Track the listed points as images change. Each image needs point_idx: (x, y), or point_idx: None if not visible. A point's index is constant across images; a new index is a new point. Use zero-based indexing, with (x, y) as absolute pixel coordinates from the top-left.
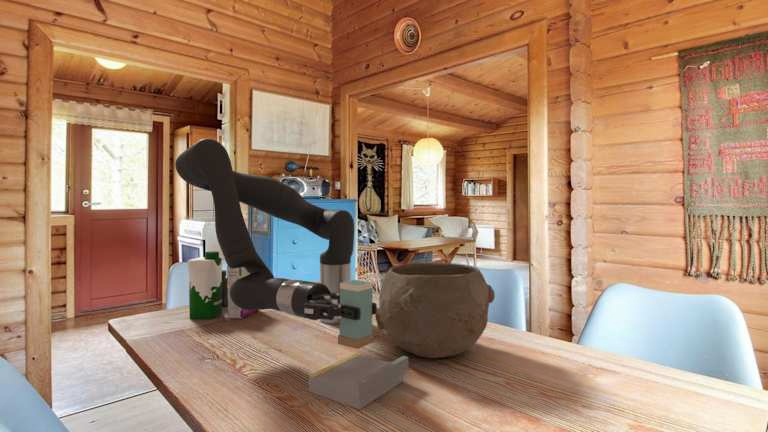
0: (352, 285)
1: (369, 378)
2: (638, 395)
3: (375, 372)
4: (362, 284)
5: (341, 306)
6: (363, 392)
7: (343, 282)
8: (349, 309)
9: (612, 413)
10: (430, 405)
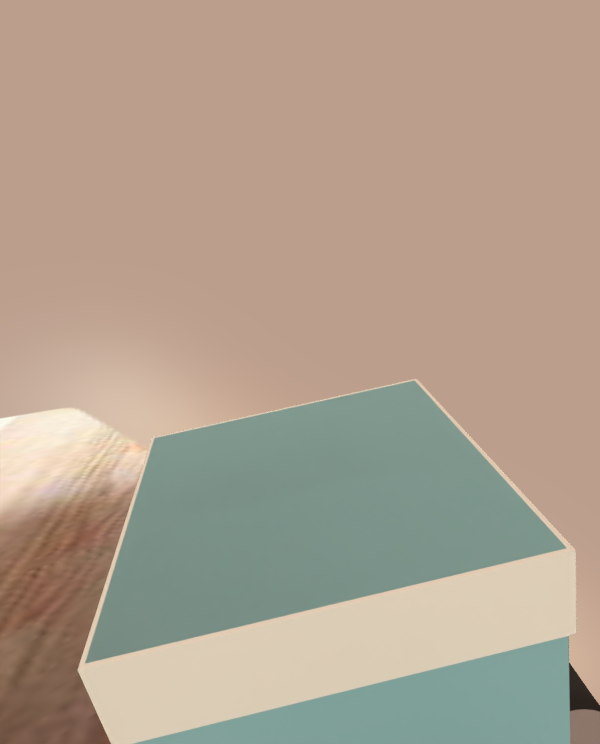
0: (445, 416)
1: None
2: (19, 474)
3: None
4: (323, 407)
5: (583, 720)
6: None
7: (467, 568)
8: None
9: (114, 467)
10: None
